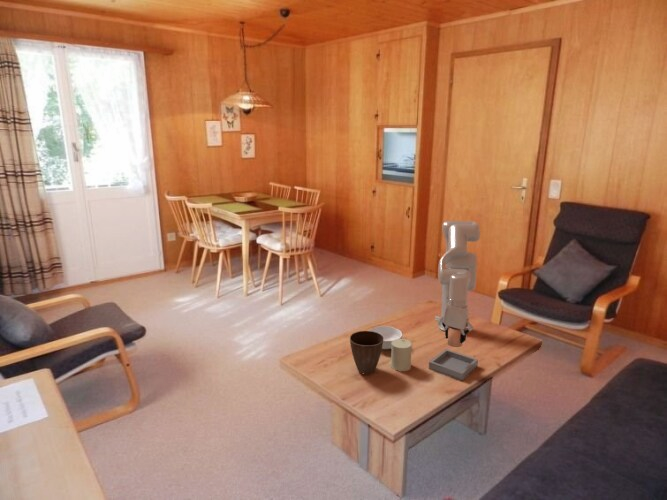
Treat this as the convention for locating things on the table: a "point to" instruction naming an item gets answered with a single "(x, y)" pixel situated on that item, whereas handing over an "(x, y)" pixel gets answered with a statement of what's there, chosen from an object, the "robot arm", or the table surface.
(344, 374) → the table surface
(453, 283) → the robot arm
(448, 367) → the grey tray
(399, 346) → the pillar candle
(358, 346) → the plant pot
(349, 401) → the table surface
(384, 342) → the cereal bowl
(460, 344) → the terracotta cup
